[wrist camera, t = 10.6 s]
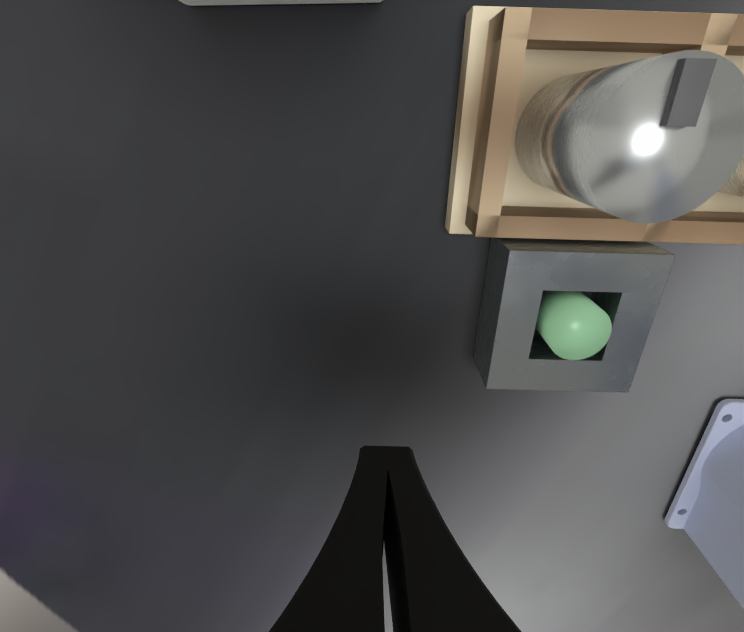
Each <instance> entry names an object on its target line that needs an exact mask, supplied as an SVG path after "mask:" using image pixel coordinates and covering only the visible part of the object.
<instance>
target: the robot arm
mask: <svg viewBox="0 0 744 632" xmlns="http://www.w3.org/2000/svg"><path fill="white" fill-rule="evenodd" d="M665 523H666V524H667V525H668V527H670V528H673V529H684V530H685V532H686V533H687V534H688V536H689V537H690V538H691V540H692V541H693V542H694V544H695V545H696V546H697V548H698V549H699V550H700V552H701V553H702V554H703V556H704V557H705V558H706V560H707V561H708V562H709V564H710V565H711V566H712V568H713V569H714V570H715V572H716V573H717V574H718V576H719V577H720V578H721V580H722V581H723V582H724V584H725V585H726V586H727V588H728V589H729V590H730V592H731V593H732V594H733V596H734V597H735V598H736V600H737V601H738V602H739V604H740V605H741V606H742V608H743V609H744V399H725V400H722V401H721V402H719V403H718V404H717V406H716V408H715V410H714V412H713V415H712V417H711V419H710V421H709V423H708V426H707V428H706V430H705V432H704V434H703V436H702V439H701V441H700V443H699V445H698V447H697V450H696V452H695V454H694V456H693V458H692V460H691V463H690V465H689V467H688V469H687V471H686V474H685V476H684V478H683V480H682V482H681V484H680V487H679V489H678V491H677V493H676V495H675V498H674V500H673V502H672V504H671V506H670V508H669V511H668V513H667V515H666V517H665ZM383 544H385V554H386V564H387V574H388V584H389V593H390V603H391V613H392V622H393V632H521V631H520V629H519V628H518V627H517V626H516V625H515V623H514V622H513V621H512V620H511V618H510V617H509V616H508V615H507V613H506V612H505V611H504V610H503V609H502V607H501V606H500V605H499V604H498V602H497V601H496V600H495V598H494V597H493V595H492V594H491V593H490V591H489V590H488V589H487V587H486V586H485V585H484V583H483V582H482V580H481V579H480V578H479V576H478V575H477V573H476V572H475V570H474V569H473V567H472V566H471V564H470V563H469V561H468V560H467V558H466V557H465V555H464V554H463V552H462V551H461V549H460V547H459V546H458V544H457V542H456V541H455V539H454V537H453V536H452V534H451V532H450V531H449V529H448V527H447V526H446V524H445V522H444V520H443V518H442V517H441V515H440V513H439V511H438V509H437V507H436V505H435V503H434V501H433V499H432V497H431V495H430V493H429V491H428V489H427V487H426V485H425V482H424V480H423V478H422V476H421V473H420V471H419V468H418V466H417V463H416V460H415V457H414V454H413V451H412V449H410V448H409V447H394V446H363V447H362V448H361V449H360V454H359V459H358V464H357V467H356V471H355V474H354V477H353V480H352V483H351V486H350V488H349V491H348V493H347V496H346V498H345V501H344V503H343V506H342V508H341V510H340V513H339V515H338V517H337V519H336V521H335V523H334V525H333V527H332V529H331V532H330V534H329V536H328V538H327V540H326V542H325V544H324V545H323V547H322V549H321V551H320V553H319V555H318V556H317V558H316V560H315V562H314V563H313V565H312V567H311V569H310V570H309V572H308V574H307V575H306V577H305V579H304V580H303V582H302V583H301V585H300V587H299V588H298V590H297V591H296V593H295V595H294V596H293V598H292V599H291V601H290V602H289V604H288V605H287V607H286V608H285V610H284V611H283V613H282V614H281V616H280V617H279V618H278V620H277V621H276V623H275V624H274V625H273V627H272V628H271V629H270V631H269V632H385V628H384V600H383V570H382V557H383Z"/></svg>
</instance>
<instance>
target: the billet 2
mask: <svg viewBox="0 0 744 632" xmlns="http://www.w3.org/2000/svg"><path fill="white" fill-rule="evenodd" d="M717 192H720V193H725V194H729V195H734V196H739V197H743V198H744V156H743V158H742V159H741V161H740V163H739V165H738V167H737V168H736V170H735V171H734V172H733V174H732V175H731V177H730V178H729V179H728V180H727V182H726V183H725V184H724V185H723V186H722V187H721V188H720V189H719V190H718V191H717Z"/></svg>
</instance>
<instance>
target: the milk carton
mask: <svg viewBox="0 0 744 632" xmlns="http://www.w3.org/2000/svg"><path fill="white" fill-rule="evenodd" d="M179 1H181V2H182V3H184V4H186V5H189V6H196V5H259V4H321V3H379V2H382V0H179Z"/></svg>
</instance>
